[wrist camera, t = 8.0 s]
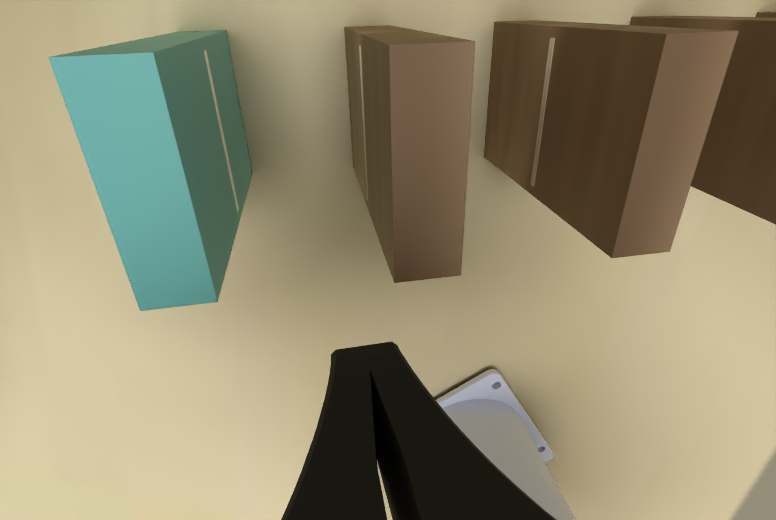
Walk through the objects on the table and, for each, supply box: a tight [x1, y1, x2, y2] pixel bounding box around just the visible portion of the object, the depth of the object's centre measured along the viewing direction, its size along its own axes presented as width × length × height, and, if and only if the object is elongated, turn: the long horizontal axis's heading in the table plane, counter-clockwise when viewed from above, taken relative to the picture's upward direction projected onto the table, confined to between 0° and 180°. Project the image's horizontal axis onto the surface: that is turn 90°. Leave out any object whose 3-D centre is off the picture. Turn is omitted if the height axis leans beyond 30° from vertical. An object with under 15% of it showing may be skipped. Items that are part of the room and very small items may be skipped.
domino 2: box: [344, 26, 475, 283], centre depth 13 cm, size 2×5×9 cm, turn 1°
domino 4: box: [630, 16, 776, 224], centre depth 15 cm, size 2×5×9 cm, turn 1°
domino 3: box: [484, 21, 739, 258], centre depth 14 cm, size 2×5×9 cm, turn 2°
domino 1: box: [49, 30, 252, 311], centre depth 13 cm, size 2×5×9 cm, turn 2°
